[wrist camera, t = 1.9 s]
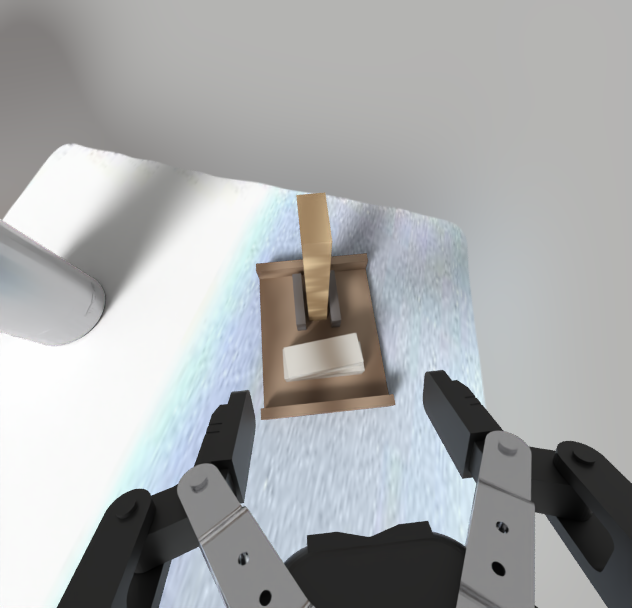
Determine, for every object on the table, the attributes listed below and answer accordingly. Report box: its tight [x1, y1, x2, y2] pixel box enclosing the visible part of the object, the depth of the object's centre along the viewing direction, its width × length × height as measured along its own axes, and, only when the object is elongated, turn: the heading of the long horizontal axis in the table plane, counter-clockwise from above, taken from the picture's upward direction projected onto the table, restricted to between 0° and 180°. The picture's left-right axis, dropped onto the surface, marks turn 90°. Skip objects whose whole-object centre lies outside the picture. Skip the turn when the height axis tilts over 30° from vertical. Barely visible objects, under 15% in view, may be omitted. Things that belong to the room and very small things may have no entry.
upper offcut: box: [284, 333, 364, 381], centre depth 29 cm, size 7×3×2 cm, turn 102°
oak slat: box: [297, 193, 332, 321], centre depth 27 cm, size 2×4×16 cm, turn 6°
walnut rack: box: [256, 253, 395, 420], centre depth 33 cm, size 13×17×3 cm
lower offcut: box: [283, 341, 365, 382], centre depth 31 cm, size 8×3×2 cm, turn 96°
